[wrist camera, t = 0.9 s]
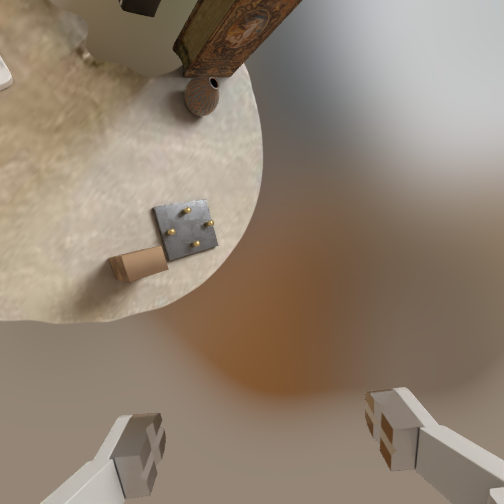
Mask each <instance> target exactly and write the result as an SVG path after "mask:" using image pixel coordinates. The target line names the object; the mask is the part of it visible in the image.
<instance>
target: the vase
mask: <svg viewBox="0 0 504 504" xmlns="http://www.w3.org/2000/svg"><path fill="white" fill-rule="evenodd" d="M184 97H185V103H186V105H187V107H188V109H189V110H190V111H191V112H192V113H193V114H195V115H198V116H206V115H208V114H210V113H211V112H212V111H213V110H214V109H215V108H216V106H217V104H218V101H219V83H218V81H217V79H216V78H215V77H207V76H197V77H195V78H193V79H192V80H191V81H190V82H189V83H188V85H187V87H186V89H185V96H184Z"/></svg>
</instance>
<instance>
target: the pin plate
mask: <svg viewBox="0 0 504 504" xmlns="http://www.w3.org/2000/svg"><path fill="white" fill-rule="evenodd" d="M153 211H154V214H155V218H156V221H157V225H158V228H159V231H160V235H161V238H162V242H163V245H164V248H165V252H166V255H167V259H168V261H170V260H173V259H176V258H180V257H183V256H186V255H190V254H193V253H196V252H199V251H203V250H206V249H209V248H212V247H216V246H218V243H217V239H216V235H215V231H214V228H213V225H214V221H213V220H211V216H210V212H209V208H208V205H207V201H206V199H204V200H198V201H191V202H184V203H177V204H170V205H164V206H157V207H153Z"/></svg>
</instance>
